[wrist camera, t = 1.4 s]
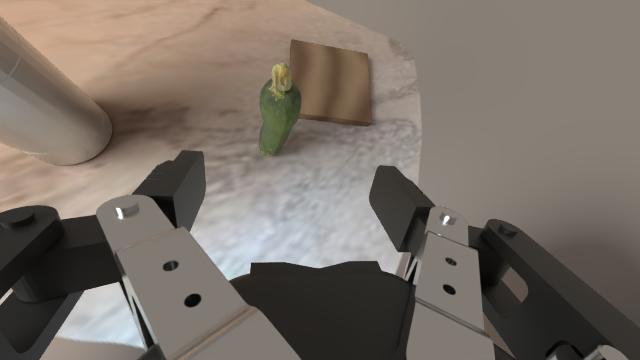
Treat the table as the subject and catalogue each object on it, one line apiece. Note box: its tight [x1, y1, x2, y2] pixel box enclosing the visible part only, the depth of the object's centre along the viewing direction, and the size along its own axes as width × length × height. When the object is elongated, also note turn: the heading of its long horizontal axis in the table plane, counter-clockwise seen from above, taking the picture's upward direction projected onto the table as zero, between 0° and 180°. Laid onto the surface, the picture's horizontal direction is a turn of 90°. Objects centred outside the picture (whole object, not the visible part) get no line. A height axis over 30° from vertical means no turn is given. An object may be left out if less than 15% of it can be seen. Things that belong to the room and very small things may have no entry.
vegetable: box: [260, 61, 301, 156], centre depth 29 cm, size 4×4×20 cm
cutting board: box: [290, 40, 372, 126], centre depth 44 cm, size 14×14×2 cm
